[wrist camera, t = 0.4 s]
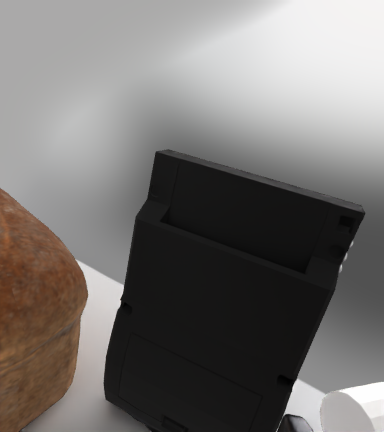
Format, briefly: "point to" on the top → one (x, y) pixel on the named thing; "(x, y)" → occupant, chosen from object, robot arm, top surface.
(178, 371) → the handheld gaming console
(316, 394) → the top surface
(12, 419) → the bread
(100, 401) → the top surface
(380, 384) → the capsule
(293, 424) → the robot arm
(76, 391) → the top surface
